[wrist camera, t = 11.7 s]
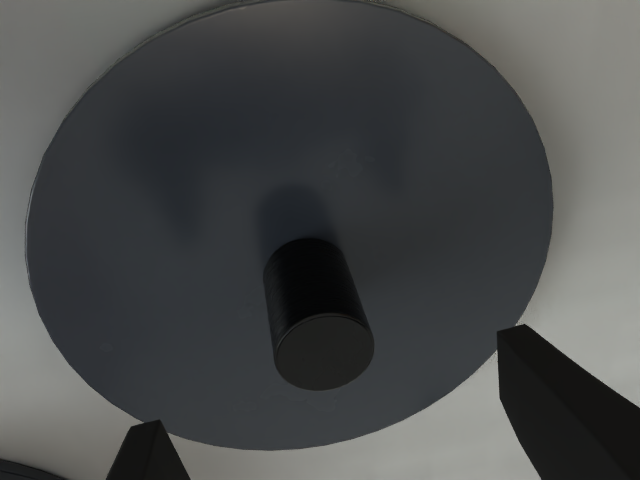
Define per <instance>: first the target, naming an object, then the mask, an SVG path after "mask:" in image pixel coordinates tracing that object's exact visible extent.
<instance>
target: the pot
mask: <svg viewBox="0 0 640 480" xmlns="http://www.w3.org/2000/svg"><path fill="white" fill-rule="evenodd" d="M0 480H64V479H61V478H59V477H56V476H53V475H51V474H48V473H46V472H43V471H40V470H37V469H34V468H30V467H27V466H23V465H20V464H16V463H11V462H6V461H1V460H0Z"/></svg>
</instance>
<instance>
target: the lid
mask: <svg viewBox="0 0 640 480" xmlns="http://www.w3.org/2000/svg"><path fill="white" fill-rule="evenodd" d="M552 220H553V193H552V180H551V174H550V170H549V165H548V161H547V157H546V152H545V148H544V146H543V143H542V141H541V138H540V136H539V133H538V131H537V129H536V126H535V124H534V121H533V119H532V117H531V116H530V114H529V112H528V111H527V109H526V108H525V106H524V104H523V103H522V101H521V99H520V98H519V96H518V95H517V93H516V92H515V90H514V89H513V88H512V87H511V86H510V85H509V84H508V82H507V81H506V80H505V79H504V78H503V77H502V75H501V74H500V73H499V72H498V71H497V70H496V68H495V67H494V66H492V65H491V64H490V63H489V62H488V61H486V60H485V59H484V58H483V57H482V56H480V55H479V54H478V53H477V52H476V51H475V50H473V49H472V48H471V47H470V46H469V45H467V44H466V43H464V42H463V41H461V40H460V39H458V38H456V37H455V36H453V35H451V34H450V33H448V32H446V31H445V30H443V29H441V28H440V27H438V26H436V25H435V24H433V23H431V22H430V21H427V20H425V19H422V18H420V17H417V16H415V15H412V14H410V13H408V12H405V11H403V10H400V9H398V8H395V7H392V6H388V5H384V4H379V3H375V2H371V1H367V0H246V1H241V2H235V3H230V4H227V5H224V6H221V7H218V8H215V9H212V10H209V11H206V12H203V13H200V14H197V15H194V16H191V17H189V18H187V19H185V20H183V21H181V22H179V23H177V24H175V25H173V26H171V27H169V28H167V29H165V30H163V31H161V32H159V33H157V34H155V35H153V36H151V37H150V38H148V39H147V40H145V41H144V42H142V43H141V44H140V45H138V46H137V47H135V48H134V49H132V50H131V51H129V52H128V53H127V54H125V55H124V56H122V57H121V58H119V59H118V60H117V61H116V62H115V63H114V64H113V65H111V66H110V67H109V68H108V69H107V70H106V71H105V72H104V73H103V74H102V75H101V76H100V77H99V78H98V79H97V80H96V81H94V82H93V83H92V84H91V85H90V86H89V87H88V88H87V90H86V91H85V92H84V93H83V95H82V96H81V97H80V99H79V100H78V101H77V102H76V104H75V105H74V106H73V108H72V109H71V110H70V111H69V113H68V114H67V115H66V117H65V118H64V120H63V121H62V123H61V125H60V127H59V128H58V130H57V132H56V134H55V136H54V137H53V139H52V141H51V143H50V145H49V146H48V148H47V150H46V152H45V154H44V155H43V158H42V161H41V164H40V166H39V169H38V172H37V175H36V177H35V180H34V183H33V186H32V189H31V193H30V199H29V205H28V210H27V216H26V221H25V259H26V265H27V272H28V278H29V285H30V288H31V291H32V294H33V297H34V300H35V303H36V306H37V310H38V313H39V315H40V317H41V319H42V321H43V323H44V325H45V327H46V329H47V331H48V333H49V335H50V337H51V339H52V341H53V342H54V344H55V345H56V347H57V348H58V349H59V351H60V352H61V354H62V355H63V356H64V358H65V359H66V361H67V362H68V363H69V365H70V366H71V367H72V368H73V369H74V370H75V371H76V372H77V373H78V374H79V375H80V376H81V377H82V378H83V379H84V380H85V382H86V383H87V384H88V385H89V386H90V387H92V388H93V389H94V390H95V391H97V392H98V393H99V394H100V395H102V396H103V397H104V398H105V399H107V400H108V401H109V402H110V403H112V404H113V405H115V406H116V407H118V408H120V409H121V410H123V411H125V412H126V413H128V414H129V415H131V416H133V417H134V418H136V419H138V420H140V421H142V422H144V423H147V422H151V421H154V420H158V419H160V420H161V422H162V424H163V426H164V428H165V430H166V432H167V433H170V434H173V435H176V436H179V437H182V438H185V439H188V440H192V441H196V442H201V443H205V444H209V445H213V446H220V447H227V448H235V449H242V450H267V451H272V450H292V449H303V448H310V447H317V446H324V445H329V444H333V443H338V442H342V441H346V440H351V439H354V438H357V437H360V436H363V435H366V434H370V433H373V432H376V431H379V430H381V429H383V428H386V427H388V426H390V425H393V424H395V423H398V422H400V421H402V420H404V419H406V418H408V417H410V416H412V415H414V414H416V413H417V412H419V411H421V410H423V409H425V408H427V407H429V406H430V405H432V404H433V403H435V402H436V401H438V400H439V399H441V398H442V397H444V396H445V395H447V394H448V393H450V392H451V391H452V390H454V389H455V388H456V387H457V386H459V385H460V384H461V383H462V382H464V381H465V380H466V379H467V378H469V377H470V376H471V375H472V374H473V373H474V372H475V371H476V370H477V369H478V368H479V367H481V366H482V365H483V364H484V363H485V362H486V361H487V360H488V359H489V358H490V357H491V356H492V355H493V353H494V352H495V351H496V350H497V331H500V330H504V329H507V328H511V327H514V326H515V325H516V323H517V322H518V320H519V319H520V317H521V316H522V314H523V313H524V311H525V309H526V307H527V305H528V303H529V301H530V299H531V297H532V295H533V293H534V291H535V289H536V287H537V284H538V281H539V279H540V276H541V273H542V270H543V267H544V265H545V262H546V257H547V253H548V248H549V243H550V239H551V234H552Z"/></svg>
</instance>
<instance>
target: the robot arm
mask: <svg viewBox="0 0 640 480" xmlns="http://www.w3.org/2000/svg"><path fill="white" fill-rule="evenodd" d="M497 351H498V373H499V394H500V400H501V402H502V405H503V407H504V409H505V411H506V414H507V416H508V418H509V421H510V423H511V425H512V427H513V429H514V431H515V433H516V436H517V438H518V440H519V442H520V444H521V446H522V447H523V449H524V451H525V452H526V454H527V456H528V457H529V459H530V461H531V463H532V464H533V466H534V468H535V469H536V471H537V473H538V474H539V476H540V478H541V479H542V480H640V408H639V407H638V406H636V405H635V404H633V403H632V402H630V401H629V400H627V399H626V398H624V397H623V396H621V395H620V394H618V393H617V392H615V391H614V390H613V389H611V388H610V387H608V386H607V385H605V384H604V383H603V382H601V381H600V380H598V379H597V378H596V377H594V376H593V375H591V374H590V373H589V372H587V371H586V370H584V369H583V368H582V367H580V366H579V365H578V364H576V363H575V362H574V361H572V360H571V359H570V358H568V357H567V356H566V355H565V354H563V353H562V352H561V351H559V350H558V349H557V348H555V347H554V346H553V345H552V344H550V343H549V342H548V341H547V340H545V339H544V338H543V337H541V336H540V335H539V334H538V333H536V332H535V331H534V330H533V329H531V328H530V327H529V326H527V325H525V324H523V325H519V326H515V327H511V328H507V329H504V330H500V331H497ZM106 480H191V479H190V477H189V475H188V473H187V471H186V470H185V468H184V466H183V464H182V462H181V460H180V458H179V456H178V454H177V452H176V450H175V448H174V446H173V444H172V442H171V440H170V438H169V436H168V434H167V432H166V430H165V428H164V426H163V424H162V422H161V420H160V419H158V420H154V421H151V422H147V423H143V424H139V425H135V426H131V428H130V429H129V431H128V432H127V435H126V437H125V439H124V441H123V443H122V445H121V448H120V450H119V452H118V454H117V456H116V458H115V461H114V463H113V465H112V467H111V469H110V471H109V473H108V476H107V478H106Z"/></svg>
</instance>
